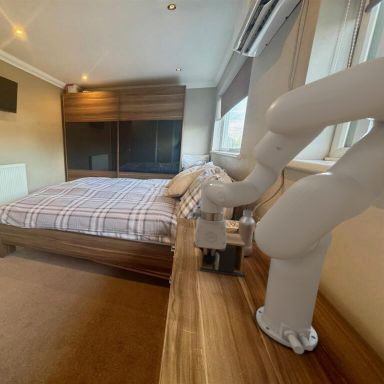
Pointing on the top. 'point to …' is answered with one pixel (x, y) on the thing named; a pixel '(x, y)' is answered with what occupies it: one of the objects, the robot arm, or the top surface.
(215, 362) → the top surface
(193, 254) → the top surface
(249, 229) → the plastic bottle
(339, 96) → the robot arm
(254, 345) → the top surface
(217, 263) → the sliding door
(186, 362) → the top surface
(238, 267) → the cabinet
